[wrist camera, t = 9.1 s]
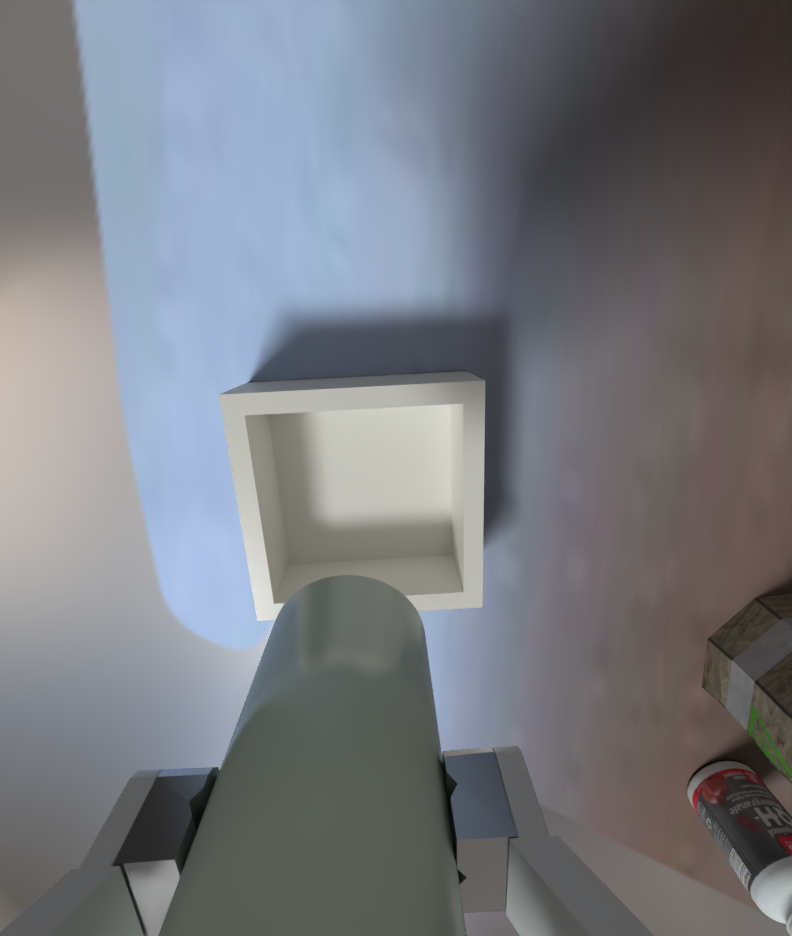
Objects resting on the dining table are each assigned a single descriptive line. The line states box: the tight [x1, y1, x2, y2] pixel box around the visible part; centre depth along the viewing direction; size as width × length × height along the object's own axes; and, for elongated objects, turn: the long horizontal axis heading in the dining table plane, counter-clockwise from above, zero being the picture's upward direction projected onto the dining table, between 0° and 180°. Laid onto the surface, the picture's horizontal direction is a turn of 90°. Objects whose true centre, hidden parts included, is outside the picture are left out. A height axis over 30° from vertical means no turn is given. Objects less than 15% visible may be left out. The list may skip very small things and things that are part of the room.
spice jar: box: [158, 575, 467, 936], centre depth 8 cm, size 5×5×10 cm
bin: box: [219, 371, 485, 621], centre depth 24 cm, size 12×12×5 cm
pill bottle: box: [687, 761, 792, 936], centre depth 30 cm, size 5×5×10 cm
